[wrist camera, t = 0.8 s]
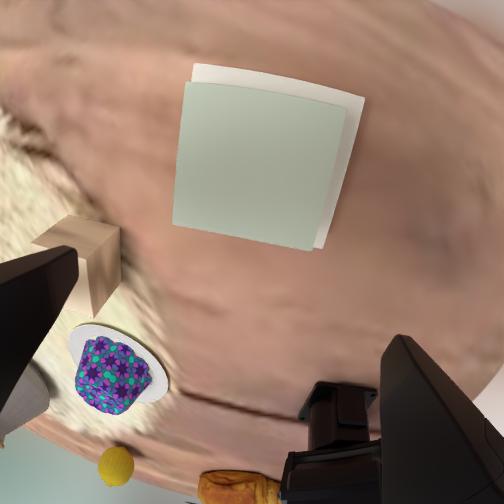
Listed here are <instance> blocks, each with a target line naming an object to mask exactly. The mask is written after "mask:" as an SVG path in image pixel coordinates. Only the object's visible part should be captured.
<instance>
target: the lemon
mask: <svg viewBox="0 0 504 504" xmlns="http://www.w3.org/2000/svg"><path fill="white" fill-rule="evenodd" d="M98 471H99V474H100V477H101V478H102V480H103V481H104V482H105V483H106V485H107V486H109V487H111V486H121V485H124V484H125V483H126V482H127V481H128V480H129V479H130V477H131V476H132V473H133V471H134V460H133V458H132V456H131V455H130V453H129V452H128V451H127V449H126V448H125V447H124V446H121V447H112V448H109V449H107V450H106V451H105V452H104V453H103V454H102V456H101V458H100V460H99V465H98Z"/></svg>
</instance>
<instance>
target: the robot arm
mask: <svg viewBox="0 0 504 504" xmlns="http://www.w3.org/2000/svg"><path fill="white" fill-rule="evenodd" d="M78 278H79V263H78V252H77V250H76V249H75V248H73V247H70V246H67V245H61V246H58V247H54V248H51V249H47V250H44V251H40V252H37V253H33V254H30V255H27V256H23V257H20V258H17V259H13V260H10V261H7V262H4V263H0V413H1V412H2V410H3V408H4V406H5V404H6V402H7V400H8V398H9V397H10V395H11V393H12V391H13V389H14V388H15V386H16V384H17V382H18V381H19V379H20V377H21V375H22V374H23V372H24V370H25V369H26V367H27V365H28V364H29V362H30V360H31V359H32V357H33V356H34V354H35V352H36V351H37V349H38V347H39V346H40V344H41V343H42V341H43V340H44V338H45V337H46V335H47V333H48V332H49V330H50V329H51V327H52V326H53V324H54V323H55V321H56V319H57V317H58V316H59V314H60V312H61V310H62V308H63V306H64V304H65V303H66V301H67V299H68V297H69V295H70V294H71V292H72V290H73V288H74V286H75V285H76V283H77V281H78ZM377 396H378V392H377V390H376V389H369V388H360V387H351V386H343V385H336V384H329V383H317V384H316V385H315V386H314V388H313V390H312V392H311V393H310V395H309V397H308V399H307V401H306V402H305V404H304V406H303V408H302V410H301V411H300V413H299V415H298V420H299V421H305V422H309V429H308V451H302V452H295V451H293V452H289V453H288V458H287V459H286V462H285V467H284V471H283V476H282V480H281V484H280V488H279V490H278V492H277V498H278V499H279V500H280V501H281V504H504V437H503V436H502V435H501V434H500V433H499V432H498V431H497V430H496V429H495V427H494V426H493V425H492V424H491V423H490V422H489V420H488V419H487V418H484V415H483V414H482V413H481V412H480V410H479V409H478V408H477V407H476V406H475V405H474V404H473V403H472V401H471V400H470V399H469V398H468V397H467V396H466V395H465V394H464V393H463V392H462V390H461V389H460V388H459V387H458V386H457V385H456V384H455V383H454V382H453V381H452V380H451V379H450V377H449V376H448V375H447V374H446V373H445V372H444V371H443V370H442V369H441V368H440V367H439V366H438V365H437V364H436V363H435V362H434V361H433V359H432V358H431V357H430V356H429V355H428V354H427V353H426V352H425V351H424V350H423V349H422V348H421V347H420V346H419V345H418V344H417V343H416V342H415V341H414V340H413V339H412V338H411V337H410V336H406V335H401V334H397V335H396V336H395V337H394V338H393V339H392V341H391V343H390V344H389V346H388V347H387V349H386V350H385V352H384V353H383V355H382V358H381V375H380V424H381V438H379V439H378V440H374V441H370V435H369V426H368V424H369V422H368V414H367V409H368V407H369V406H370V405H371V404H372V402H373V401H374V400H375V398H376V397H377Z"/></svg>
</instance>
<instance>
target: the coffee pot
mask: <svg viewBox="0 0 504 504" xmlns="http://www.w3.org/2000/svg"><path fill="white" fill-rule="evenodd" d="M49 401H50V399H49V393H48V390H47V386H46V382H45V379H44V378H43V376H42V375H41V373H40V372H39V371H38V370H37V369H36V368H35V367H34V366H33V365H32V364H31V363H30V362H29V364H28V365H27V367H26V369H25V370H24V372H23V374H22V375H21V377H20V379H19V381H18V382H17V384H16V386H15V388H14V389H13V391H12V393H11V395H10V397H9V398H8V400H7V402H6V404H5V406H4V408H3V410H2V412H1V413H0V448H4V445H3V442H4V438H5V435H6V434H8V433H10V432H11V431H13V430H14V429H17V428H18V427H20V426H22V425H23V424H25V423H27V422H28V421H30V420H32V419H33V418H35V417H37V416H38V415H40V414H42V413H43V412H45V411H46V410H47V409H48V407H49Z"/></svg>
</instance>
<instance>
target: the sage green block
mask: <svg viewBox="0 0 504 504" xmlns="http://www.w3.org/2000/svg"><path fill="white" fill-rule="evenodd" d="M346 112H347V108H344V107H340V106H337V105H333V104H329V103H325V102H320V101H316V100H311V99H307V98H302V97H297V96H292V95H287V94H282V93H276V92H271V91H265V90H259V89H252V88H245V87H238V86H231V85H222V84H214V83H204V82H188V81H186V85H185V92H184V100H183V108H182V116H181V125H180V133H179V143H178V153H177V164H176V175H175V188H174V202H173V217H172V225H177V226H183V227H188V228H193V229H198V230H203V231H209V232H214V233H219V234H224V235H229V236H234V237H239V238H244V239H249V240H254V241H259V242H264V243H269V244H274V245H279V246H284V247H289V248H294V249H299V250H304V251H309V252H312V249H313V246H314V242H315V238H316V235H317V231H318V227H319V224H320V220H321V216H322V212H323V208H324V205H325V201H326V197H327V193H328V189H329V185H330V181H331V177H332V173H333V169H334V165H335V161H336V156H337V152H338V148H339V144H340V139H341V135H342V131H343V126H344V122H345V117H346Z"/></svg>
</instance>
